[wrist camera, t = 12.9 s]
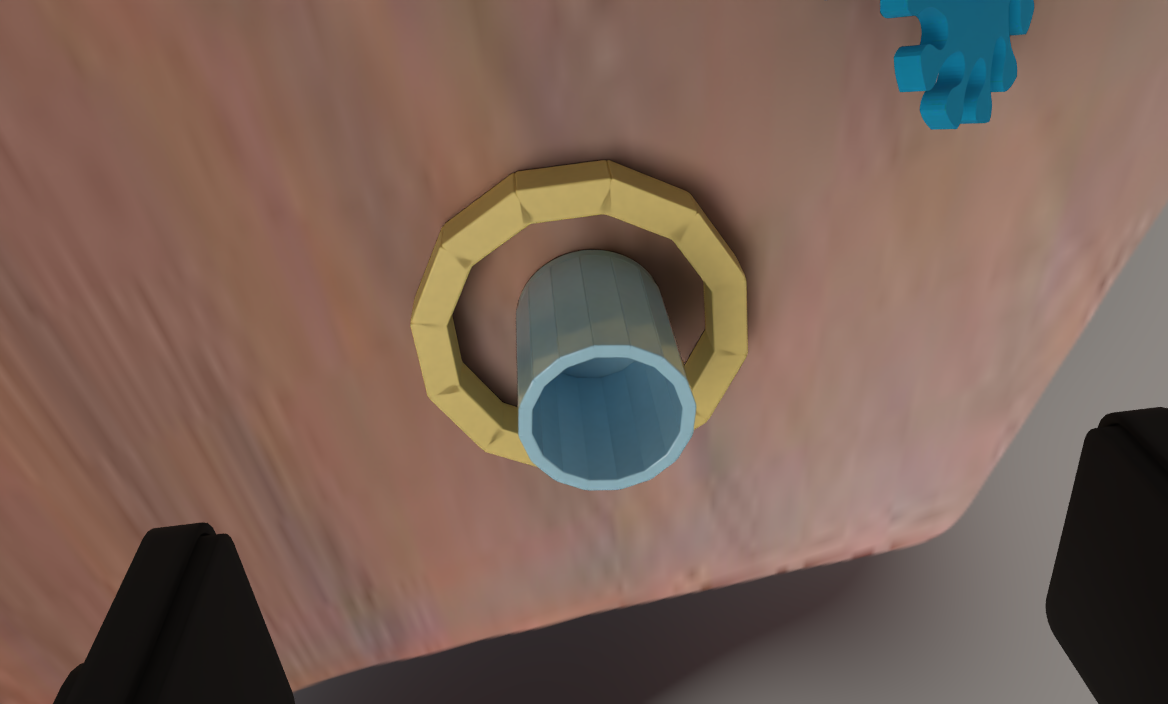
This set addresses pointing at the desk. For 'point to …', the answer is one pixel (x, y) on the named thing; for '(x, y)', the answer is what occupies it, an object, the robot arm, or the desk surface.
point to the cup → (599, 373)
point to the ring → (559, 199)
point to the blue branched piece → (959, 55)
